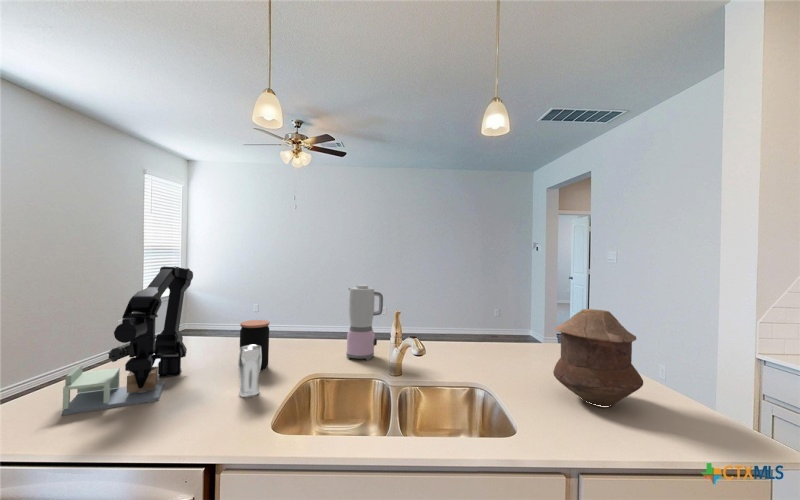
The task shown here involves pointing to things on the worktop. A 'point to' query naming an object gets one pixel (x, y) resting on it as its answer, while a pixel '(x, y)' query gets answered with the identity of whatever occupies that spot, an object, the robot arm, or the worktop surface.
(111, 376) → the hood
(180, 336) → the robot arm
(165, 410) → the worktop surface
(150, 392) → the grey base plate
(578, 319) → the pottery vessel
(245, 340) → the coffee jar
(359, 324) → the blender
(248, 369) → the beer glass
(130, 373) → the sleeve
